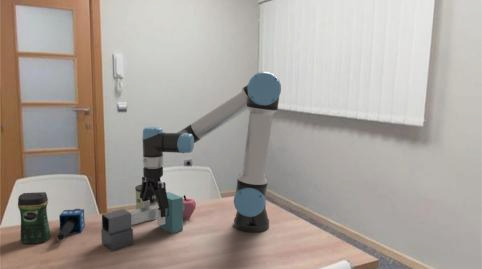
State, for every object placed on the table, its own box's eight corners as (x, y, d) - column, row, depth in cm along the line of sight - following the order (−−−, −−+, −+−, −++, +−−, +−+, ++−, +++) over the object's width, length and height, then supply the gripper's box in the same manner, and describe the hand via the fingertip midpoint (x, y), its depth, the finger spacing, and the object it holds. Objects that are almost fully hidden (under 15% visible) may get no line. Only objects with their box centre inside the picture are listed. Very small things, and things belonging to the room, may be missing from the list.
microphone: (49, 227, 131) (68, 204, 156) (50, 247, 132) (69, 222, 157) (72, 226, 133) (87, 203, 157) (72, 246, 134) (88, 221, 158)
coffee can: (163, 213, 168) (162, 184, 166) (153, 222, 158) (153, 190, 156) (142, 212, 170) (141, 182, 168) (131, 220, 160) (130, 188, 158)
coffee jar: (52, 235, 143) (50, 189, 140) (45, 243, 135) (43, 195, 133) (26, 236, 141) (22, 190, 139) (17, 245, 133) (13, 196, 131)
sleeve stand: (133, 244, 136) (132, 213, 134) (111, 251, 130) (110, 219, 128) (123, 238, 141) (122, 208, 140) (101, 244, 135) (100, 213, 134)
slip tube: (173, 213, 149) (173, 204, 148) (122, 227, 134) (122, 216, 133) (168, 211, 152) (167, 201, 151) (117, 224, 137) (117, 213, 136)
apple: (170, 218, 162) (170, 196, 161) (183, 212, 170) (183, 192, 168) (187, 223, 158) (187, 200, 156) (199, 217, 165) (199, 195, 163)
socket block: (182, 230, 150) (182, 197, 148) (172, 233, 146) (172, 200, 144) (169, 223, 157) (169, 191, 155) (159, 226, 153) (158, 194, 151)
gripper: (130, 162, 148) (131, 214, 151) (160, 173, 131) (161, 231, 134) (146, 160, 153) (147, 210, 156) (178, 170, 137) (178, 226, 140)
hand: (154, 220), depth 145 cm, fingers open, 11 cm apart
